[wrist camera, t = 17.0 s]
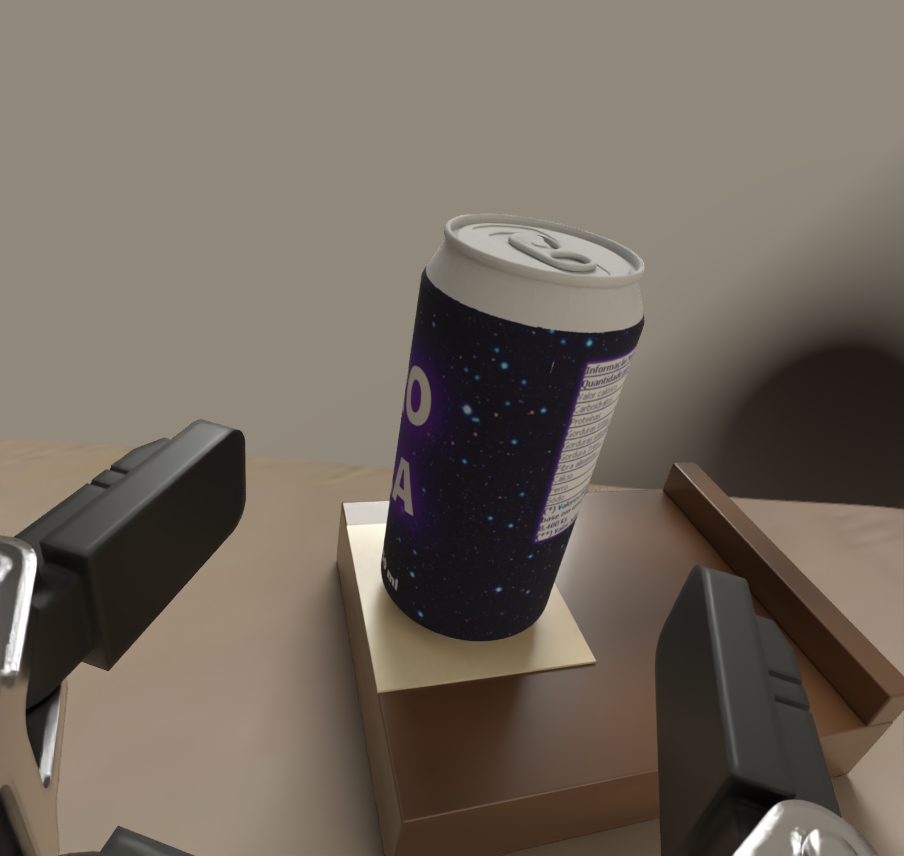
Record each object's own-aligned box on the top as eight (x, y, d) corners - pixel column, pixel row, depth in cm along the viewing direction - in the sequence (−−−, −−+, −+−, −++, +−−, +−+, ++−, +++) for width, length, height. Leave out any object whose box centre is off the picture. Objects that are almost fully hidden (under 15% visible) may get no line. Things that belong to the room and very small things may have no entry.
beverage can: (481, 519, 25) (556, 210, 18) (576, 623, 21) (712, 278, 15) (349, 559, 22) (386, 206, 15) (433, 689, 18) (527, 290, 12)
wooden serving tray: (336, 558, 26) (344, 471, 24) (662, 535, 31) (695, 461, 29) (388, 881, 16) (409, 788, 14) (848, 774, 21) (920, 692, 19)
